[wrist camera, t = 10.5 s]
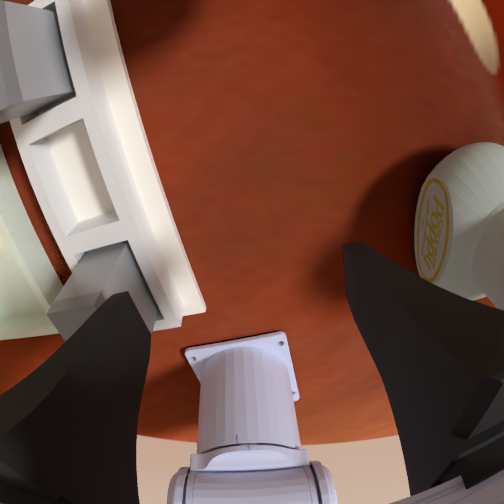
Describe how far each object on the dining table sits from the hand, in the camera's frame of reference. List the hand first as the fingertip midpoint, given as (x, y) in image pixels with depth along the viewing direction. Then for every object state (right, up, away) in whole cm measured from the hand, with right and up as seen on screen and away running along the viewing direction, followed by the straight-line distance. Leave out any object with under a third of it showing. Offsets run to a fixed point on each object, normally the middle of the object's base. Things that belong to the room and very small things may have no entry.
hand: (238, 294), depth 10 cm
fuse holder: (-9, +6, +7) cm, 13 cm away
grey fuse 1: (-11, +12, +3) cm, 16 cm away
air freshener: (+15, +5, +9) cm, 18 cm away
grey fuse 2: (-8, 0, +10) cm, 12 cm away
